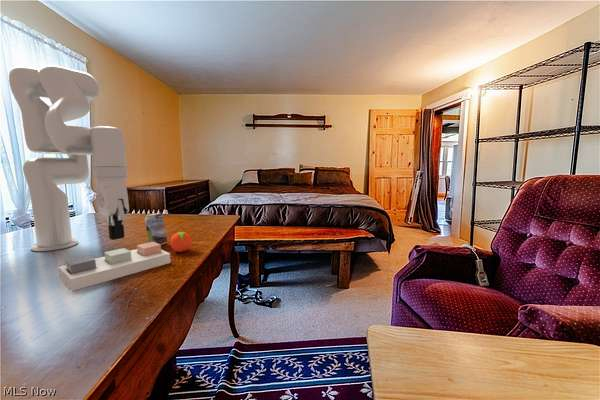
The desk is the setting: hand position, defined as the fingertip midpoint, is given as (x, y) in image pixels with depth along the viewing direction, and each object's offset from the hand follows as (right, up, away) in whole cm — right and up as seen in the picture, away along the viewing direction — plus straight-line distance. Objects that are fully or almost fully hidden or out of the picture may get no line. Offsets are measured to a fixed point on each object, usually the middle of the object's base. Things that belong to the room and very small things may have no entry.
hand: (117, 238), depth 77 cm
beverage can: (-1, -6, +24) cm, 25 cm away
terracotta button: (+5, -6, +8) cm, 11 cm away
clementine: (+11, -7, +17) cm, 22 cm away
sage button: (0, -7, +1) cm, 7 cm away
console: (0, -9, +2) cm, 9 cm away
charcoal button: (-6, -8, -5) cm, 11 cm away
